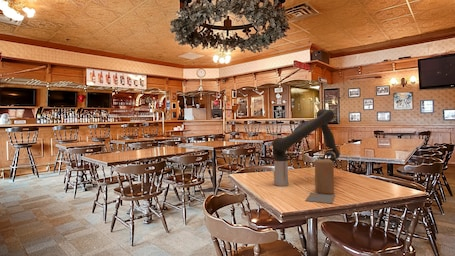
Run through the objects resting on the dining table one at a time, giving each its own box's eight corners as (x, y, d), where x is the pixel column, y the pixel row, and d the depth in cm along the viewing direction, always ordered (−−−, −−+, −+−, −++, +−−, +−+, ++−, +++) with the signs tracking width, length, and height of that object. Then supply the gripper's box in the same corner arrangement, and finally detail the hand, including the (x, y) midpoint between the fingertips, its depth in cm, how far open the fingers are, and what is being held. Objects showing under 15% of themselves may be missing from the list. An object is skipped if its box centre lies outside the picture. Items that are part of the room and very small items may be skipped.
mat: (305, 201, 149) (305, 200, 149) (310, 193, 164) (310, 192, 164) (332, 204, 143) (332, 203, 143) (335, 196, 158) (335, 195, 158)
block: (334, 194, 161) (333, 161, 161) (317, 193, 163) (316, 161, 163) (331, 190, 171) (330, 159, 171) (315, 189, 173) (314, 159, 173)
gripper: (319, 151, 195) (315, 154, 179) (339, 152, 189) (337, 155, 173) (320, 161, 195) (316, 165, 179) (339, 162, 189) (337, 166, 173)
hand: (326, 160), depth 176 cm, fingers closed
